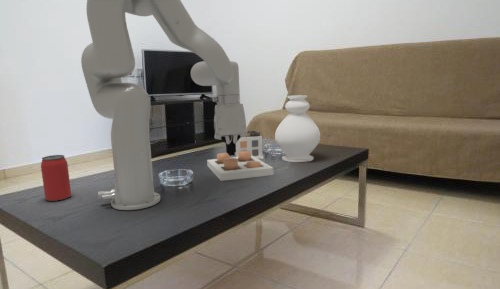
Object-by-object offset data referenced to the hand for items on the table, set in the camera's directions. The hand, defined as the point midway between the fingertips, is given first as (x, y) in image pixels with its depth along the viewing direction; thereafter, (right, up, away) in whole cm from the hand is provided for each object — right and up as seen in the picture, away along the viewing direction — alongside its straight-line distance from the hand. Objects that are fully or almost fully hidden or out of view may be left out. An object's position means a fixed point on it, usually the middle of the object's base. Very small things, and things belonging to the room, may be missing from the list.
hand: (231, 154), depth 120 cm
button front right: (+8, -6, +3) cm, 10 cm away
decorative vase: (+25, -2, +23) cm, 34 cm away
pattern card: (+6, -3, +24) cm, 25 cm away
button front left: (0, -4, +1) cm, 5 cm away
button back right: (+4, -2, +12) cm, 13 cm away
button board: (+2, -6, +7) cm, 9 cm away
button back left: (-3, -3, +10) cm, 11 cm away
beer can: (-48, -12, -18) cm, 53 cm away
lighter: (+8, 0, +36) cm, 37 cm away
